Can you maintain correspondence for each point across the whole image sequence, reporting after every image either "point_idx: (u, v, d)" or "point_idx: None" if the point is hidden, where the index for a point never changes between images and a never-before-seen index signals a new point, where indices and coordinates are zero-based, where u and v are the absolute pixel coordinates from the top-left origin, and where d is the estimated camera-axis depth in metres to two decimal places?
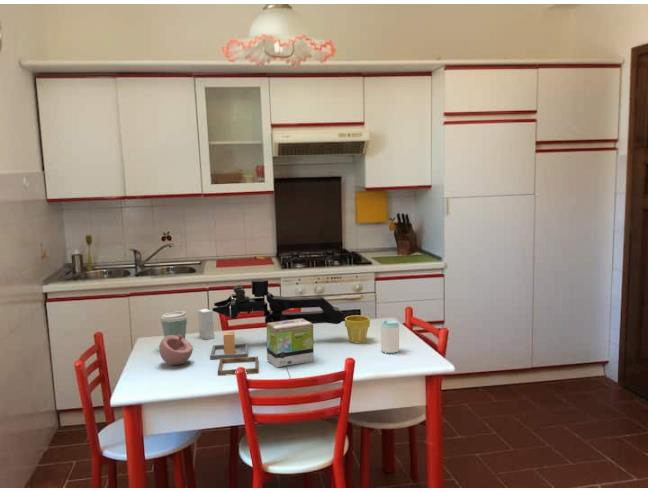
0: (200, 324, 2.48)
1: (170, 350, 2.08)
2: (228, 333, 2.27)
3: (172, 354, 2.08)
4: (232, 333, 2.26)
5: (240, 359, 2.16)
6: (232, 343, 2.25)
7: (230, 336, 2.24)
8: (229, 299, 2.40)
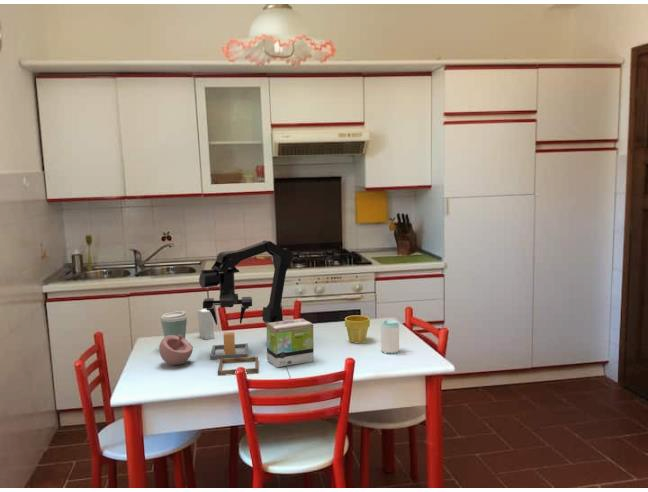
0: (200, 324, 2.48)
1: (170, 350, 2.08)
2: (227, 333, 2.27)
3: (172, 354, 2.08)
4: (232, 333, 2.26)
5: (240, 359, 2.16)
6: (232, 343, 2.25)
7: (230, 336, 2.24)
8: (214, 309, 2.23)
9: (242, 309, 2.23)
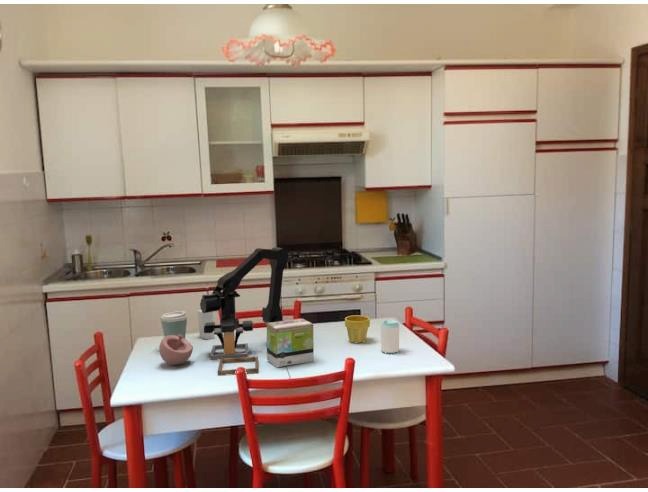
0: (200, 324, 2.48)
1: (170, 350, 2.08)
2: (228, 333, 2.27)
3: (172, 354, 2.08)
4: (232, 333, 2.26)
5: (240, 359, 2.16)
6: (232, 343, 2.25)
7: (230, 336, 2.24)
8: (221, 334, 2.24)
9: (237, 334, 2.24)
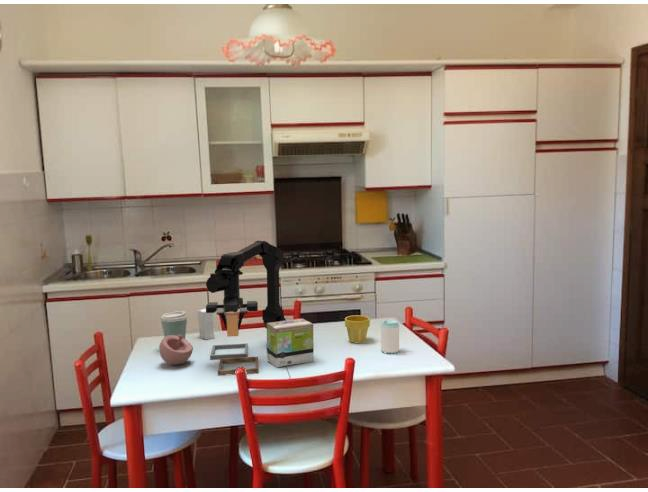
0: (200, 324, 2.48)
1: (170, 350, 2.08)
2: (231, 313, 2.15)
3: (172, 354, 2.08)
4: (236, 313, 2.14)
5: (240, 359, 2.16)
6: (235, 324, 2.13)
7: (234, 317, 2.13)
8: (224, 314, 2.12)
9: (240, 314, 2.12)
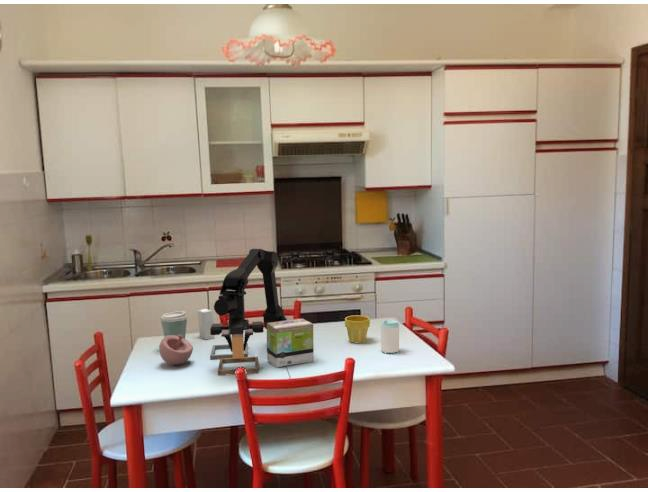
0: (200, 324, 2.48)
1: (170, 350, 2.08)
2: (236, 334, 2.09)
3: (172, 354, 2.08)
4: (241, 335, 2.08)
5: (240, 359, 2.16)
6: (241, 346, 2.07)
7: (239, 338, 2.07)
8: (229, 336, 2.06)
9: (246, 336, 2.06)
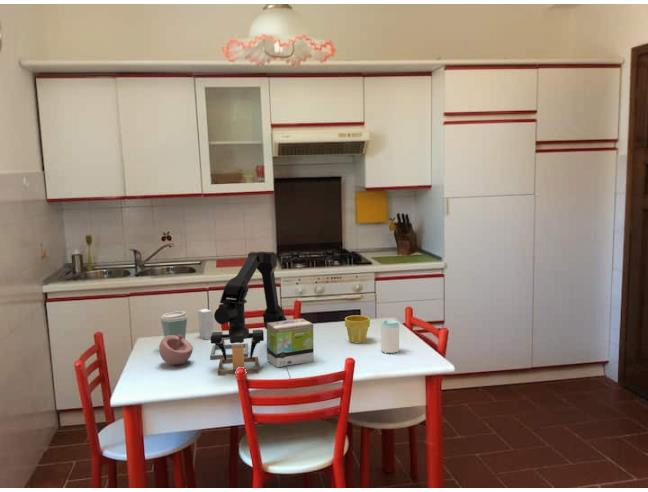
0: (200, 324, 2.48)
1: (170, 350, 2.08)
2: (236, 345, 2.09)
3: (172, 354, 2.08)
4: (241, 346, 2.09)
5: None
6: (241, 357, 2.07)
7: (239, 349, 2.07)
8: (223, 344, 2.06)
9: (253, 344, 2.07)
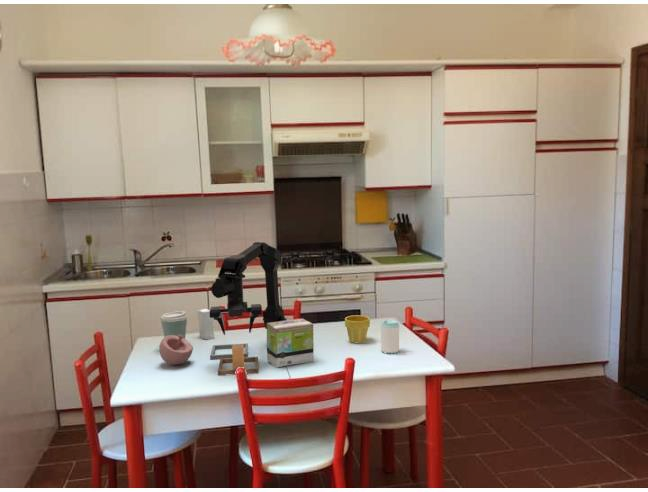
0: (200, 324, 2.48)
1: (170, 350, 2.08)
2: (236, 345, 2.09)
3: (172, 354, 2.08)
4: (241, 346, 2.09)
5: None
6: (241, 357, 2.07)
7: (239, 350, 2.07)
8: (222, 319, 2.09)
9: (251, 318, 2.10)
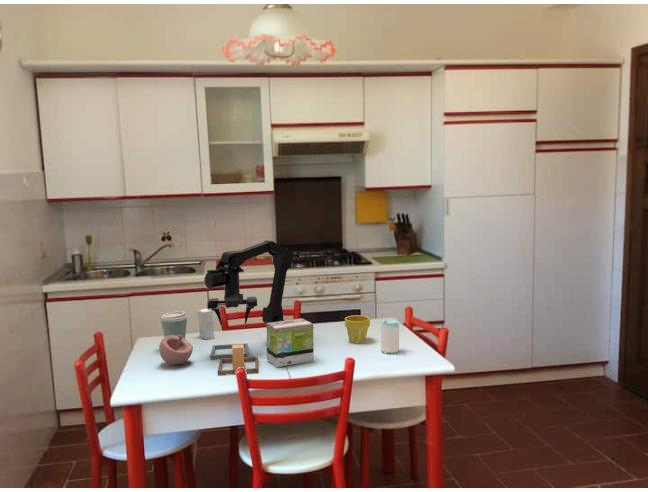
0: (200, 324, 2.48)
1: (170, 350, 2.08)
2: (236, 345, 2.09)
3: (172, 354, 2.08)
4: (241, 346, 2.09)
5: None
6: (241, 357, 2.07)
7: (239, 350, 2.07)
8: (219, 310, 2.21)
9: (247, 309, 2.21)
